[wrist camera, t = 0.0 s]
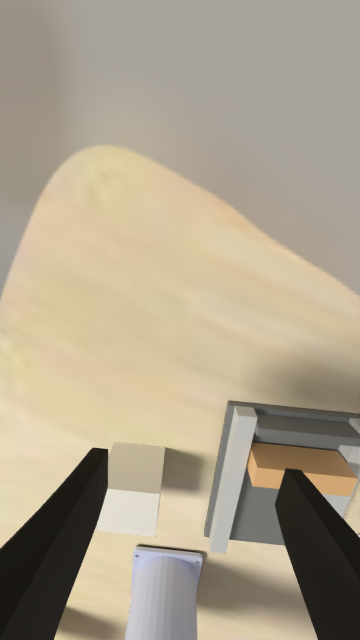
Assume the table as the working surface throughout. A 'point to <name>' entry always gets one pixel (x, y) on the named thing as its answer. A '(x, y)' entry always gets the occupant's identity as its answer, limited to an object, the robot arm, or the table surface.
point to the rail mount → (258, 502)
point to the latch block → (300, 467)
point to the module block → (133, 489)
